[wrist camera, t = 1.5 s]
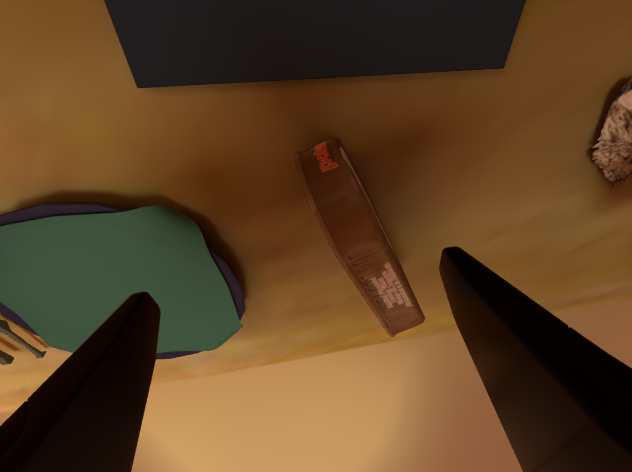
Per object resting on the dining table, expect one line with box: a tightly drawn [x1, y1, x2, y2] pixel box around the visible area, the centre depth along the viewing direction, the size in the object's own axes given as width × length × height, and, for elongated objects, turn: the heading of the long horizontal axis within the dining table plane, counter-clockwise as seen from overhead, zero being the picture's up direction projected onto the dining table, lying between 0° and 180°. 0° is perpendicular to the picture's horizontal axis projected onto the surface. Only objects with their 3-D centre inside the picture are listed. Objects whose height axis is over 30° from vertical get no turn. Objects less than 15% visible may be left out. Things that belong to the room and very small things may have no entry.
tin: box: [295, 137, 425, 337], centre depth 21 cm, size 15×3×8 cm, turn 26°
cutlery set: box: [0, 202, 245, 365], centre depth 28 cm, size 20×30×2 cm, turn 96°
